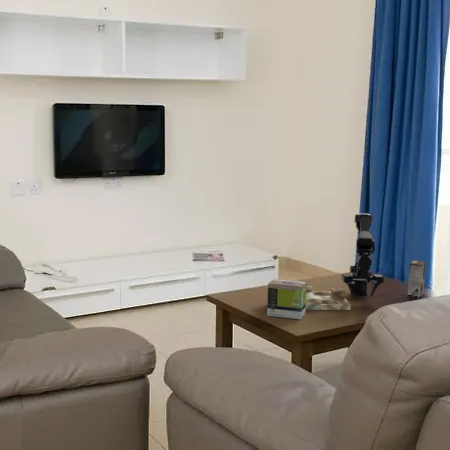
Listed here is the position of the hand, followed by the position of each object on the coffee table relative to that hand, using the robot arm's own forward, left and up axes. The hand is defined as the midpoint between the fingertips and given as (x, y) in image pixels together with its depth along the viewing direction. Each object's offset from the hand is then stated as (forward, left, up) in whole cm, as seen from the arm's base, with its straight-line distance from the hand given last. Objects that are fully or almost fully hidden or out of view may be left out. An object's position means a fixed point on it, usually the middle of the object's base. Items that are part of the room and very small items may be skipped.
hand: (361, 296), depth 340 cm
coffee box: (-32, -16, -4) cm, 36 cm away
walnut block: (+11, 0, -1) cm, 11 cm away
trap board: (+18, 0, -3) cm, 18 cm away
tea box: (+38, +19, -4) cm, 43 cm away
